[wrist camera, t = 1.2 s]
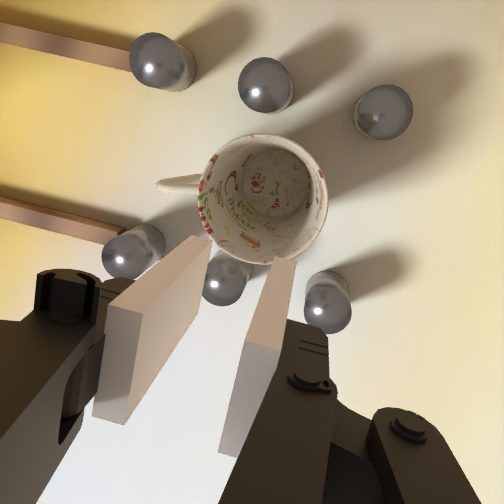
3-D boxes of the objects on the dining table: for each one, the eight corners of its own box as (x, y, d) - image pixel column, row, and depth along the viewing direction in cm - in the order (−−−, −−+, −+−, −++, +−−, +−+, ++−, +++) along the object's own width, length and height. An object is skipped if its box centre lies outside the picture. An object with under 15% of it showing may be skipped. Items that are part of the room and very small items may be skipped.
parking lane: (-45, 199, 44) (-60, 202, 42) (-37, 15, 40) (-53, 10, 38) (123, 242, 43) (115, 247, 41) (151, 57, 38) (143, 54, 37)
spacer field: (123, 258, 43) (98, 274, 38) (156, 40, 38) (133, 27, 33) (341, 314, 42) (344, 339, 37) (406, 95, 36) (420, 91, 32)
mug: (324, 233, 40) (326, 267, 30) (179, 229, 42) (137, 260, 32) (328, 131, 38) (331, 133, 28) (175, 131, 40) (129, 133, 30)
